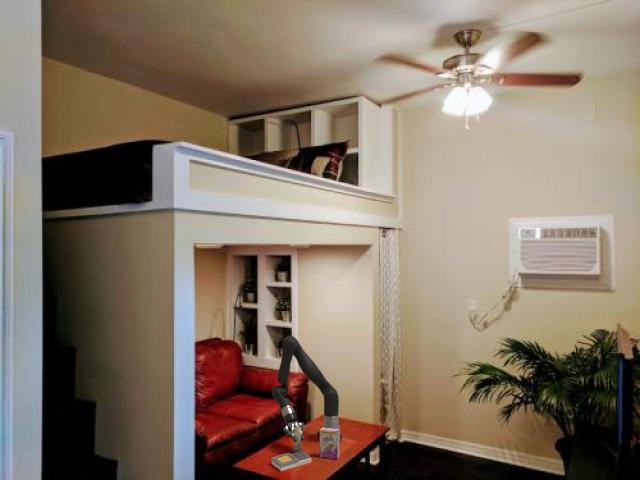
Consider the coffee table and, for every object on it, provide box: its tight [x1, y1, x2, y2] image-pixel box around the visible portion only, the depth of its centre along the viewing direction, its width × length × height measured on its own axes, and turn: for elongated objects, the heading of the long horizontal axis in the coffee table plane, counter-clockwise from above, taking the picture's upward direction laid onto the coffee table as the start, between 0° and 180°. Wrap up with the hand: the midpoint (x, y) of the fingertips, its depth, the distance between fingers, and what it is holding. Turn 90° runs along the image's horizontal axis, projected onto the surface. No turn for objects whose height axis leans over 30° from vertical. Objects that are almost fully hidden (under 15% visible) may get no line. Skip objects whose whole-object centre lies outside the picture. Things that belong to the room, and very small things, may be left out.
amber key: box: [276, 456, 293, 463], centre depth 280 cm, size 7×7×1 cm
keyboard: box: [271, 450, 312, 472], centre depth 282 cm, size 20×11×4 cm, turn 124°
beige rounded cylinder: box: [292, 425, 303, 453], centre depth 296 cm, size 6×6×14 cm
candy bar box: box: [319, 427, 340, 461], centre depth 289 cm, size 11×5×16 cm, turn 74°
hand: (299, 441), depth 294 cm, fingers closed on beige rounded cylinder, 4 cm apart
